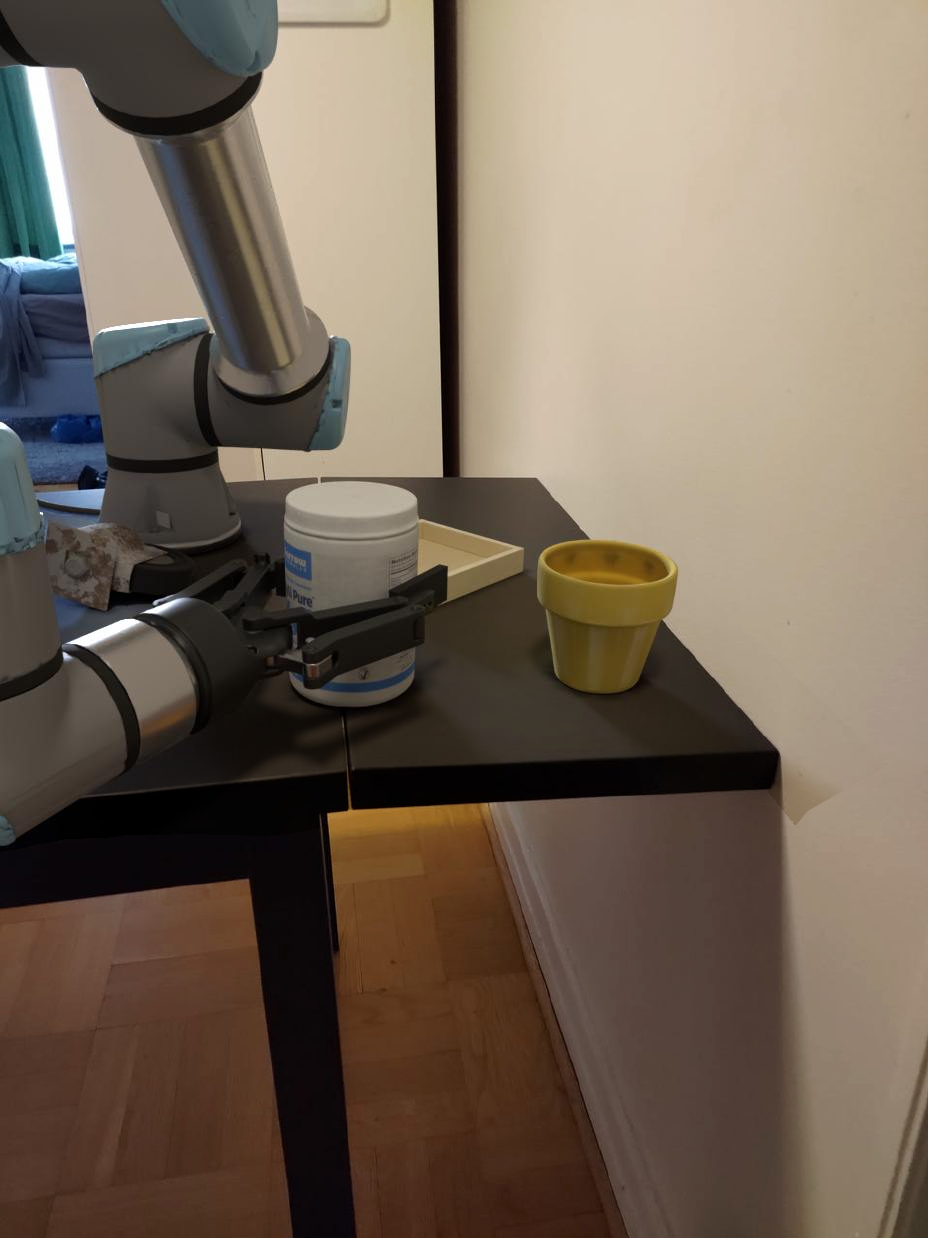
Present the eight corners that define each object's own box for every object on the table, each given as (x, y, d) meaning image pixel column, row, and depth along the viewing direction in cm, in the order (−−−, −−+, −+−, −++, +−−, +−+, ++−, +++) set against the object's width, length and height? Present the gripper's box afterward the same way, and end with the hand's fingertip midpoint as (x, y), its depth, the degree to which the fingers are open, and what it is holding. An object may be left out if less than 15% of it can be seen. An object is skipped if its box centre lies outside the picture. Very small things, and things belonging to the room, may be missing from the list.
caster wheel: (201, 603, 85) (150, 628, 76) (98, 570, 86) (34, 591, 76) (213, 540, 83) (162, 557, 74) (108, 507, 84) (44, 520, 75)
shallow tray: (325, 571, 88) (324, 547, 87) (421, 540, 98) (421, 518, 97) (429, 609, 79) (429, 583, 78) (523, 571, 89) (524, 548, 88)
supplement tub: (267, 699, 62) (253, 505, 57) (323, 648, 71) (317, 474, 65) (390, 722, 60) (389, 521, 54) (433, 666, 68) (437, 487, 62)
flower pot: (594, 721, 61) (608, 594, 57) (504, 667, 69) (511, 551, 65) (689, 685, 67) (708, 567, 63) (597, 638, 74) (608, 531, 70)
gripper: (42, 686, 54) (279, 584, 72) (313, 798, 44) (511, 646, 62) (22, 576, 51) (274, 498, 69) (307, 669, 41) (517, 549, 59)
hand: (386, 568), depth 66 cm, fingers closed on supplement tub, 10 cm apart
